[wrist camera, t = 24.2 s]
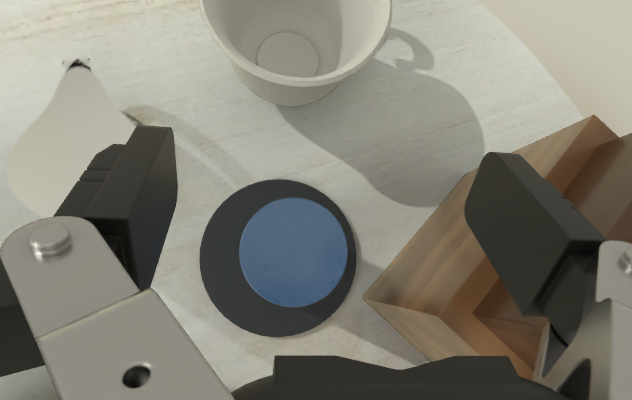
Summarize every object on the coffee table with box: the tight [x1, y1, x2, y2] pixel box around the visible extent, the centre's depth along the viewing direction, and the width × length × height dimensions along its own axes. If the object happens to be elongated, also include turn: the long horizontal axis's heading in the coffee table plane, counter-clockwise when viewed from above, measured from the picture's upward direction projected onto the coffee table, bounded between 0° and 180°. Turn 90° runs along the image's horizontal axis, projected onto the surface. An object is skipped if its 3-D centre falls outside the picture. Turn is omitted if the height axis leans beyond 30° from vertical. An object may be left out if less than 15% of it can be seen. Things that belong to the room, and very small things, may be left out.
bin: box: [363, 115, 632, 380], centre depth 25 cm, size 14×14×19 cm
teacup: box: [199, 0, 392, 106], centre depth 31 cm, size 12×15×10 cm
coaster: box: [200, 180, 356, 337], centre depth 32 cm, size 12×12×1 cm
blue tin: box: [239, 198, 348, 307], centre depth 27 cm, size 6×6×11 cm
